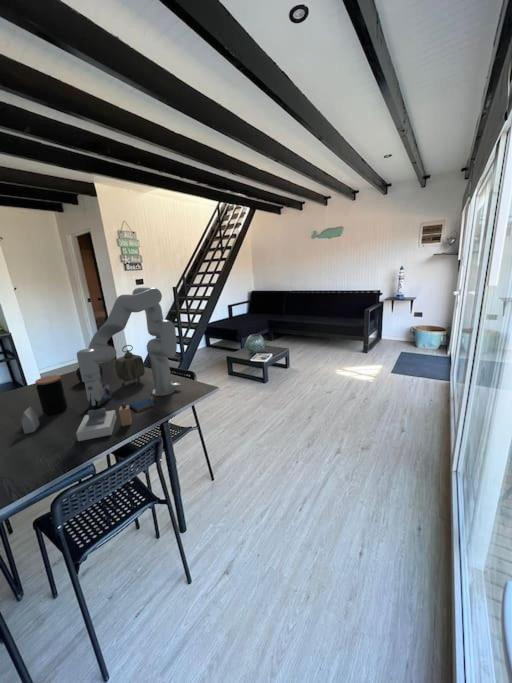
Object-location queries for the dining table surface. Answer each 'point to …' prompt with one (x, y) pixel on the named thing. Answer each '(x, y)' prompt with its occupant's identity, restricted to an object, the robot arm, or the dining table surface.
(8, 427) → the dining table surface
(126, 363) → the tabletop clock
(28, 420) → the grey faceted stone
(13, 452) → the dining table surface
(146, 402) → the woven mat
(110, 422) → the socket block
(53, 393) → the coffee jar
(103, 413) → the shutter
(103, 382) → the small box
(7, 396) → the dining table surface
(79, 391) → the dining table surface
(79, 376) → the squash
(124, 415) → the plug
